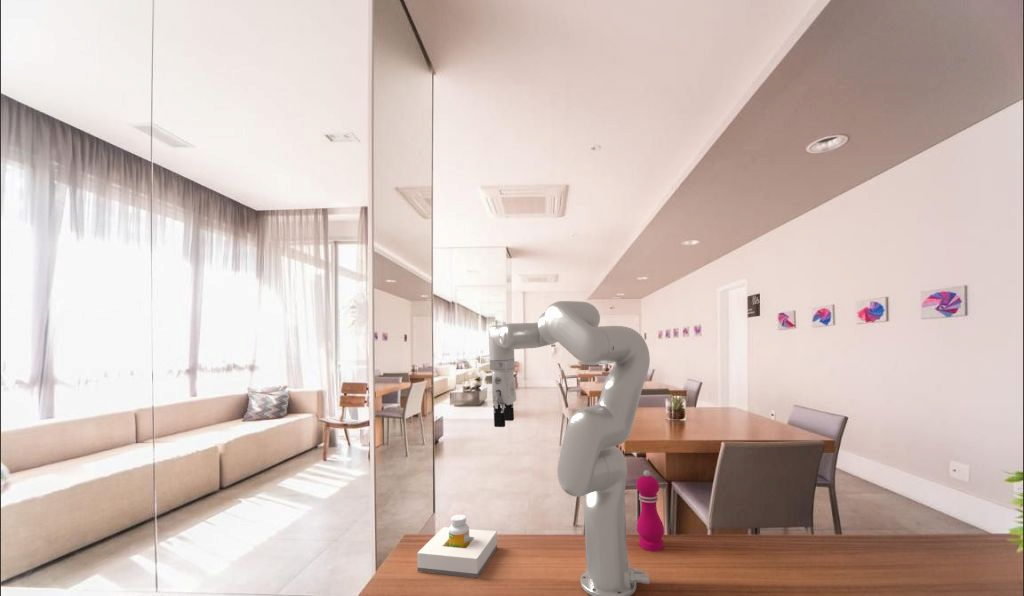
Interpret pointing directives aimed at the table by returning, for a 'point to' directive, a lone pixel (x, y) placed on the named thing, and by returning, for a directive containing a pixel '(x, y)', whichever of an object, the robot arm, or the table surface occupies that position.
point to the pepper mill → (649, 514)
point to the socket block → (457, 554)
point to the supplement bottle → (458, 532)
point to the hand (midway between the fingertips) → (504, 423)
